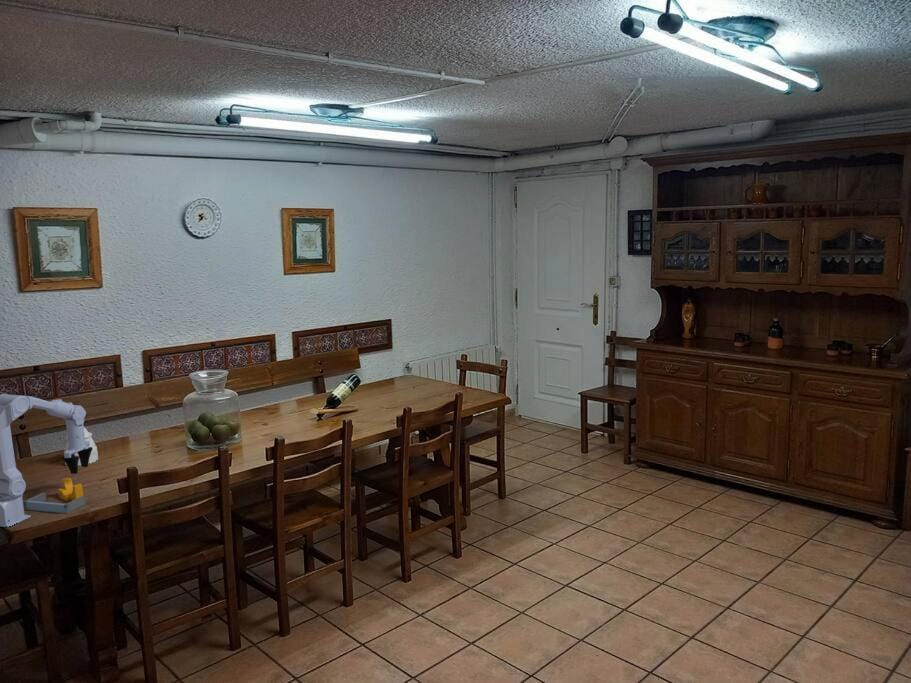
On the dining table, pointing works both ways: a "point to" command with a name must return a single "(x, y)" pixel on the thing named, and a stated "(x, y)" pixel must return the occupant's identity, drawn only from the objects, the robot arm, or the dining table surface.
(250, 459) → the dining table surface
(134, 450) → the dining table surface
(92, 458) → the honey pot
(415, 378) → the dining table surface
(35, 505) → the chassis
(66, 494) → the pipe clamp
